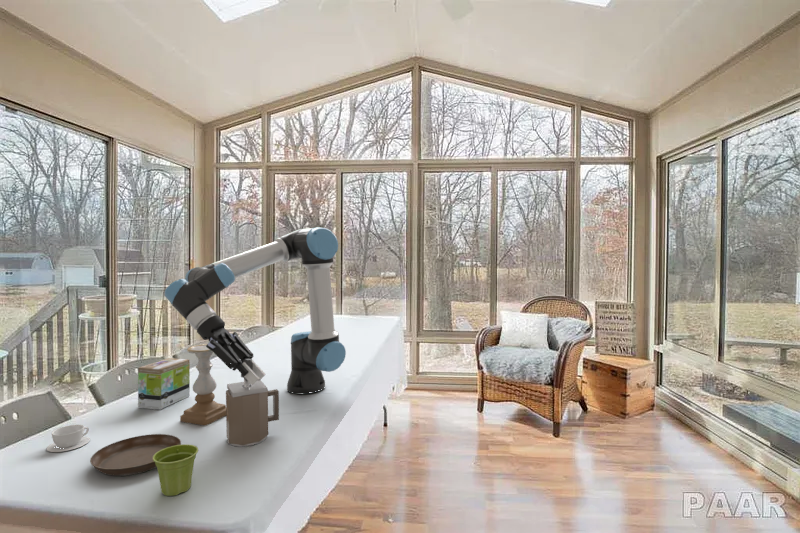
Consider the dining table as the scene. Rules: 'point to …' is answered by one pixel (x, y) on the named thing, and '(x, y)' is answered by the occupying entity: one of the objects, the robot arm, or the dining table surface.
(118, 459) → the plant saucer
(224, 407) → the candle holder
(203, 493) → the dining table surface
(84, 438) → the teacup
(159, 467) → the plant pot
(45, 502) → the dining table surface
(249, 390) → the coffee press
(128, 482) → the dining table surface
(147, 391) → the tea box
